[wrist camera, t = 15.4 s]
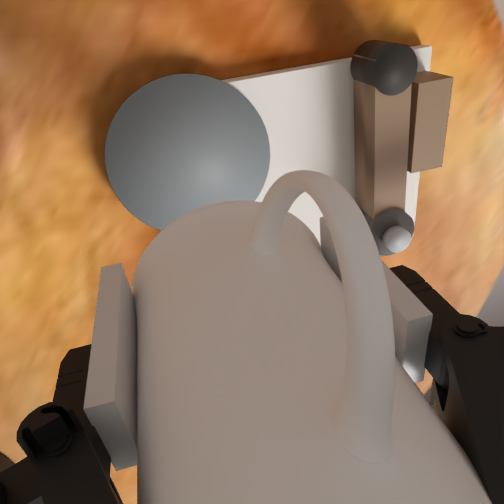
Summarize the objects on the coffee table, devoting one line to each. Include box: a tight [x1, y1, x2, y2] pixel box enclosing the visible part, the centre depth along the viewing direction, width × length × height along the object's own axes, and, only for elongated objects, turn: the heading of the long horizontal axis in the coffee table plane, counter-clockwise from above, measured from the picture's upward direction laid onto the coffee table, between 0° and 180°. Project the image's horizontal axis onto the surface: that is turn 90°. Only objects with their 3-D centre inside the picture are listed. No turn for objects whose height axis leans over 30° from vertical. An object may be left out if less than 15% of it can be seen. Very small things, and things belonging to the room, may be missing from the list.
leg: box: [350, 40, 418, 256], centre depth 29 cm, size 14×4×3 cm, turn 8°
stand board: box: [105, 45, 453, 253], centre depth 29 cm, size 23×16×6 cm
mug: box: [131, 170, 492, 504], centre depth 13 cm, size 12×8×12 cm
